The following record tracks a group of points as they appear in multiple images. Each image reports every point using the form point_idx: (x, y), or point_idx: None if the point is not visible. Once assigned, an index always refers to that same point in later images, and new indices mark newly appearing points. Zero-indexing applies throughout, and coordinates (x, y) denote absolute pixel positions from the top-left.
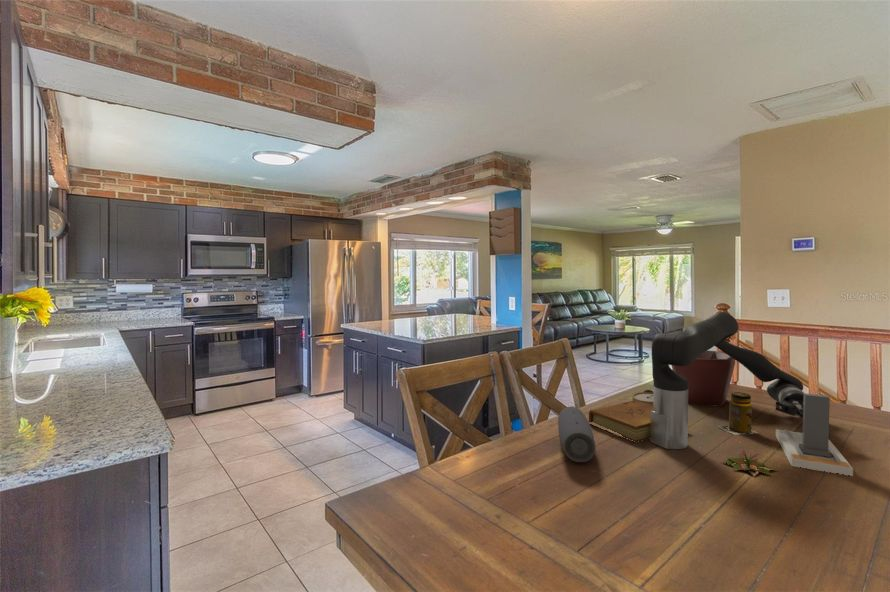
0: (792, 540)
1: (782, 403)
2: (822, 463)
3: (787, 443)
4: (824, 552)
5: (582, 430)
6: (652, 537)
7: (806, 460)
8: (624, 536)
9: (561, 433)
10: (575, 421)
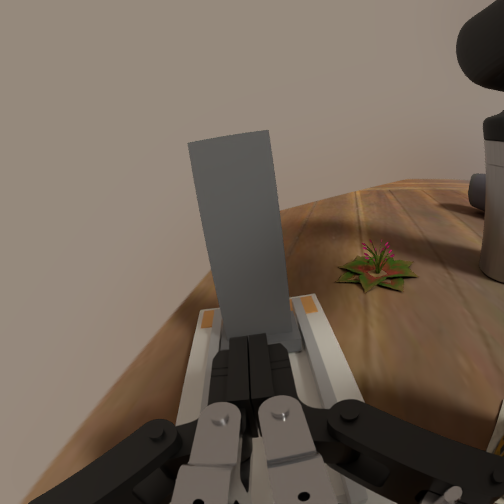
0: (302, 217)
1: (457, 474)
2: None
3: (338, 374)
4: (283, 218)
5: (478, 174)
6: (371, 198)
7: None
8: (382, 196)
9: None
10: None
